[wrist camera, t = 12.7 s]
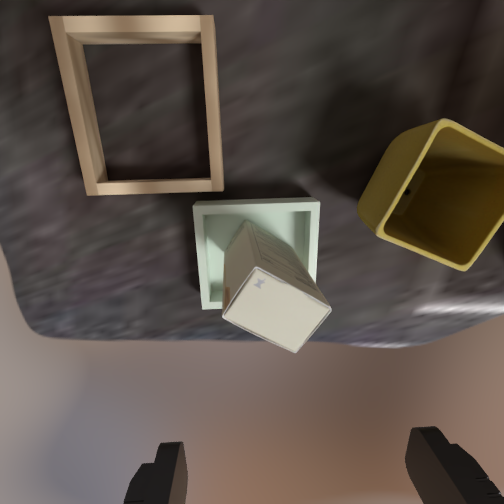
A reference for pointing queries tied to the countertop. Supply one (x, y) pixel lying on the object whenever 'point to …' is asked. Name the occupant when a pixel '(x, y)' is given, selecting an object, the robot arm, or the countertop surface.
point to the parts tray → (262, 215)
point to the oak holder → (81, 101)
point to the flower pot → (437, 193)
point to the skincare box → (270, 289)
